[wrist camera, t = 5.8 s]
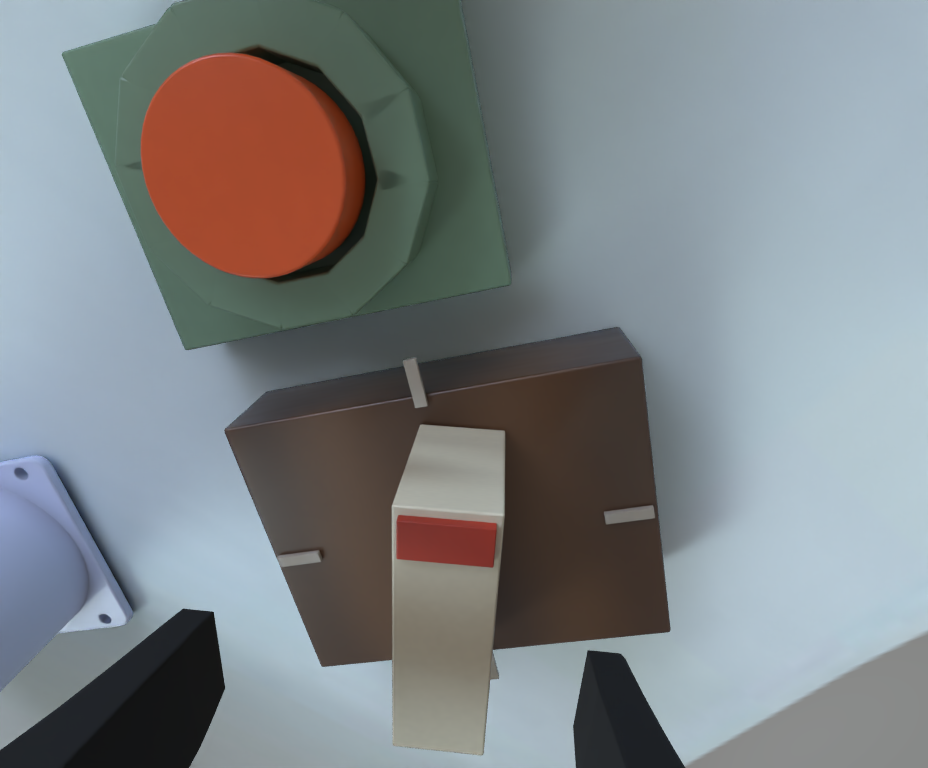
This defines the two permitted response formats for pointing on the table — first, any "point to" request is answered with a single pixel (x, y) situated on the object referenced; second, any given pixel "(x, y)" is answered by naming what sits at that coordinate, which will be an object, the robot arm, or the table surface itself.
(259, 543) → the table surface
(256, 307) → the button box
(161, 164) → the button
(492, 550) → the cream rectangular block
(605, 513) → the switch base
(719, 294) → the table surface
